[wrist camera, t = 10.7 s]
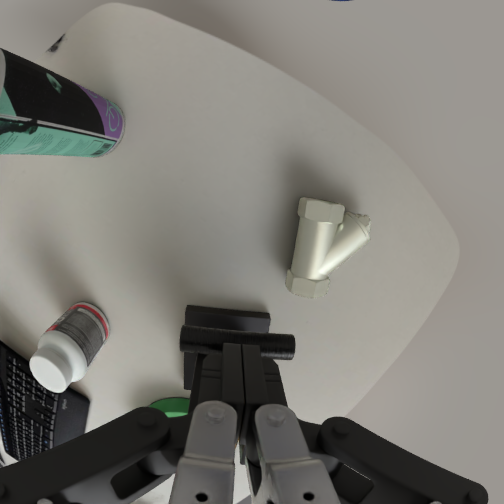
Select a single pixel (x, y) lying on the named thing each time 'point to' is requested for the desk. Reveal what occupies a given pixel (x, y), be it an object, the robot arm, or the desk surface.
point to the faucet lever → (236, 342)
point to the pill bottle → (69, 347)
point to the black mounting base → (195, 360)
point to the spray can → (53, 113)
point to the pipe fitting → (323, 245)
